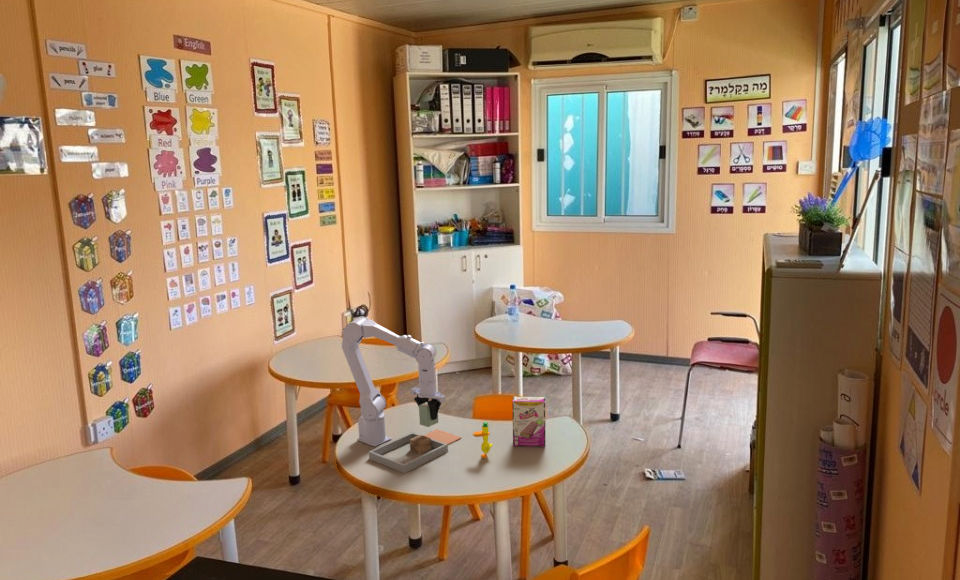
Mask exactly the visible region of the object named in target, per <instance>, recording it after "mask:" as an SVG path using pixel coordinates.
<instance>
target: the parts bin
mask: <svg viewBox="0 0 960 580" xmlns="http://www.w3.org/2000/svg"><path fill="white" fill-rule="evenodd" d="M418 435H420V434H419V433H416V432H410V433H407V434H405V435H403V436H401V437H398V438H396V439H394V440H392V441H390V442H387V443H385V444H383V445H381V446H380V445H379V447H378V446H377V447H376V448H374V449H372V450H369V451H368V459H369V460H371V461H373V462H375V463H379V464H380V465H384V466H386V467H389V468H391V469H393V470H395V471H398V472H400V473H403V474H405V473H407V472H409V471H411V470H413V469H415V468H417V467H420V466H421V465H424V464H425V463H428V462H429V461H432V460H434V459H436V458H437V457H439V456H441V455H444V454H446V453H447V452H449V445H448V444H445V443H442V442H440V441H437V440H434V439H431V448H434V449H432V450H429V452H428V451H427V452H426V453H424V454H422V455H420V456H417V457H416V458H414V459H412V460H410V461H407V462H406V463H402V462H401V461H400V462H399V461H396V460H394V459H392V458H390V457H387V456H384V454H386V453H389V452H390V451H392V450H394V449H396V448H398V447H401V446H403V445H405V444H407V443H410V439H412V438H414V437H416V436H418Z"/></svg>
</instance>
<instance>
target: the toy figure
mask: <svg viewBox="0 0 960 580" xmlns="http://www.w3.org/2000/svg"><path fill="white" fill-rule="evenodd" d="M489 435H491V433H490V432H489V423H488V422H487V421H483V422H482V424H481V430H479V431H473V433H472V436H473V437H475V438H480V437H481V438H482V443H481V445H480V448H481V449H480V450H481V451H482V452H483V453H482V454H481V455H480V456H481V458H482V459H486V458H489V457H488V453H489V452H490V450H491V449H492V448H493V445H494V443H490V442H489Z"/></svg>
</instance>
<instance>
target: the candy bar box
mask: <svg viewBox="0 0 960 580" xmlns="http://www.w3.org/2000/svg"><path fill="white" fill-rule="evenodd" d="M546 421H547V419H546V396H513V397H512V446H513V447H541V448H543V447H546V440H547V439H546V424H547V423H546Z"/></svg>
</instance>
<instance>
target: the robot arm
mask: <svg viewBox="0 0 960 580" xmlns="http://www.w3.org/2000/svg"><path fill="white" fill-rule="evenodd" d="M373 337H375V338H377V339H380V340H383V341H385V342H387V343H389V344H392V345H393V346H395V347H396V349H397V351H399V352H401V353H403V354H405V355H407V356H409V357H411V358H414V359H415V361H416V363H418V369H417V370H418V387H416V386H414V388H413V387H412V388H411V389H410V391H411V395H416V397H414V398H413V399H414V401H415V403H416V404H417V407H418V408H419V405H420V404H423V403H425V402H427V404H428V406H429V409H430V415H431V420H435V419H437V415H438V416H439V410H440V407H441V405H442V403H444V402H446V401H447V400H446V399H447V398H446V395H444V394H442V393H440V392H439V391H437V378H436V377H437V374H436V359H435V357H436V356H437V349H436V347H435V346H434V345H432V343H430V342H429V343H428V342H427V343H425V342H424V341H419V340H417V339H414V338H413V337H412V335H410V334H407V335H406V334H403V335H398V334H396V333H395V332H393V331H392V330H389V329H388V328H386V327H384V326H383V325H380V324H378V323H377V322H375V321H374V320H373V319H371V318H368V317H366V316H363V315H362V316H357V317H356V318H355V319H353V320H352V321H351V322H349V323H347V324H346V325H345V326H344V329H343V330H342V339H341V340H342V341H341V349H342V351H343V354H344V357H345V359H346V361H347V364H348V367H349V369H350V372H351V374H352V376H353V380H354V382H355V384H356V386H357V390H358V391H359V400H358V401H359V405H360V414H361V415H360V416H359V419H358V421H357V422H358V425H357V426H358V428H357V429H358V438H357V439H356V440H357V441H359V442H362V443H363V444H367V445H369V446H371V447H378V446H380V445H382V444H384V443H386V442H388V441H390V440H392V437H390V436H387V434H386V419H385V418H386V417H385V412H384V409H386V406H387V401H386V398H385V397H384V396H383V395H382V394H381V392H380V390H379V389H378V388H376V387H375V385H374V383H373V379H372V377H371V375H370V373H369V372H370V371H369V370H368V368H367V364H366V363H365V359H364V356H363V354H362V352H361V350H360V347H359V346H360V344H361V342H362V340H363V339H367V338H368V339H369V338H373ZM429 399H431V400H429Z"/></svg>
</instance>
